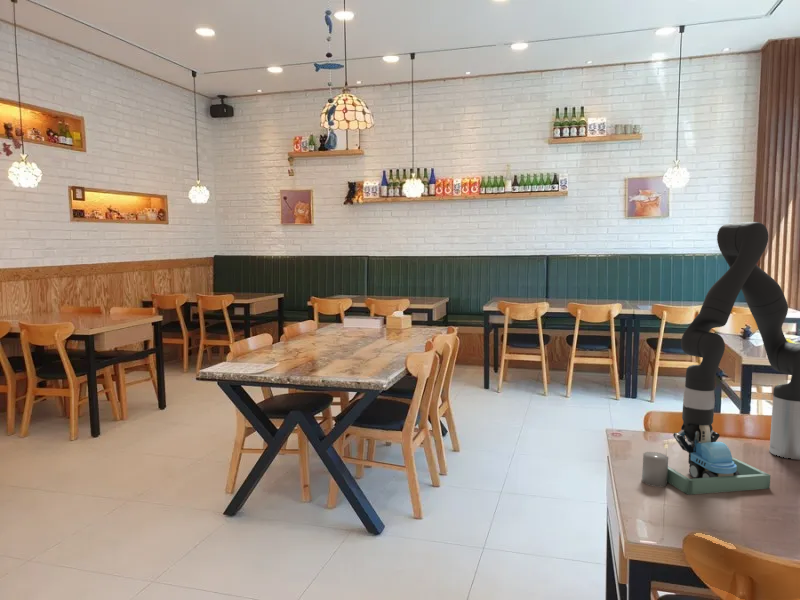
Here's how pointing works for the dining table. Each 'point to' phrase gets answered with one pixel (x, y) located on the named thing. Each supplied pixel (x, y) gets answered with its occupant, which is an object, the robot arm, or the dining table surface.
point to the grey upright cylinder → (655, 469)
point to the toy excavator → (711, 458)
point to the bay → (721, 481)
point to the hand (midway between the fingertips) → (694, 466)
